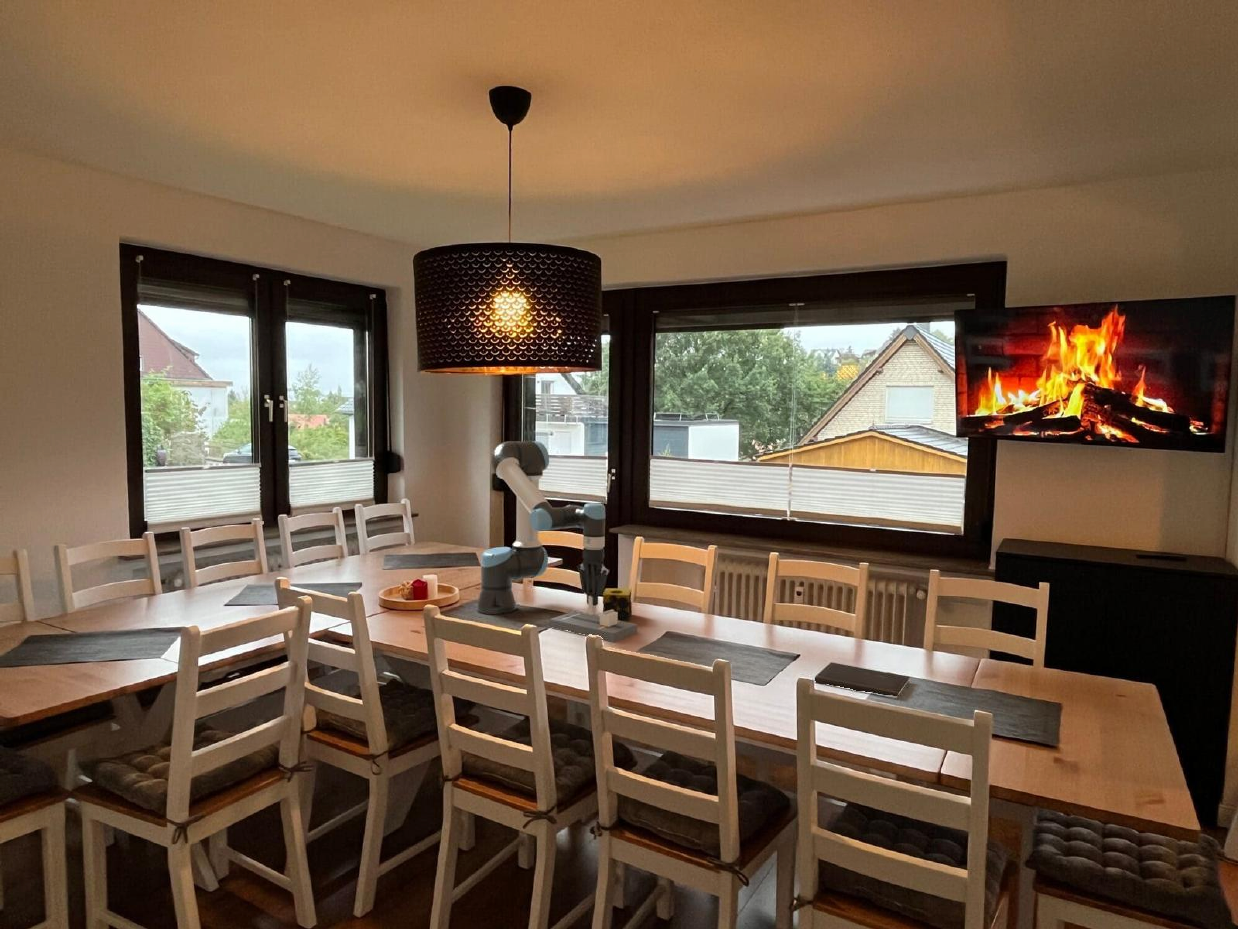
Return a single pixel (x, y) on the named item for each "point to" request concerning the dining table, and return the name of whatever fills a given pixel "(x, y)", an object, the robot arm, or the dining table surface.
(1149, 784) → the dining table surface
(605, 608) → the candle
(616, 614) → the fader tab
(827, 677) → the hardcover book
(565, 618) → the fader board
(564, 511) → the robot arm
